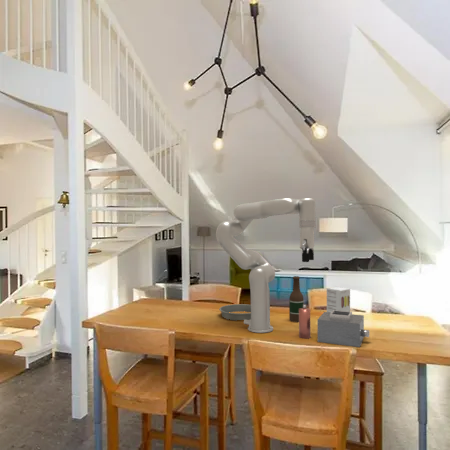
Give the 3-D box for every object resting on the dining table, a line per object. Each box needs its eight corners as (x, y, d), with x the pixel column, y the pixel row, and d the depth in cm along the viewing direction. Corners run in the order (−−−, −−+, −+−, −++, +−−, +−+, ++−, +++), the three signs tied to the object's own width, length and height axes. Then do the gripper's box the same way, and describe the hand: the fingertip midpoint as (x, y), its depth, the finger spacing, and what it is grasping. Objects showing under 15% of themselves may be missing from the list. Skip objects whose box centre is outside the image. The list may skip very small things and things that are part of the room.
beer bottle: (302, 318, 212) (301, 275, 212) (305, 322, 204) (305, 277, 204) (288, 318, 212) (287, 275, 212) (290, 322, 204) (290, 277, 204)
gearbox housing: (317, 341, 172) (317, 315, 171) (324, 332, 186) (324, 307, 186) (367, 348, 163) (367, 319, 162) (370, 337, 177) (370, 311, 177)
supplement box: (340, 322, 205) (340, 290, 205) (326, 318, 212) (325, 288, 212) (350, 319, 211) (350, 288, 211) (336, 315, 218) (336, 286, 218)
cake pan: (270, 319, 213) (269, 310, 213) (229, 323, 204) (229, 315, 204) (250, 309, 236) (250, 302, 236) (213, 313, 227) (213, 305, 227)
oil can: (297, 337, 178) (297, 305, 178) (300, 334, 183) (300, 303, 182) (309, 339, 176) (308, 306, 175) (311, 336, 180) (311, 304, 180)
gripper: (303, 224, 190) (304, 259, 190) (294, 224, 174) (295, 262, 174) (319, 224, 187) (319, 259, 187) (311, 224, 171) (312, 263, 171)
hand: (308, 260), depth 181 cm, fingers open, 9 cm apart
